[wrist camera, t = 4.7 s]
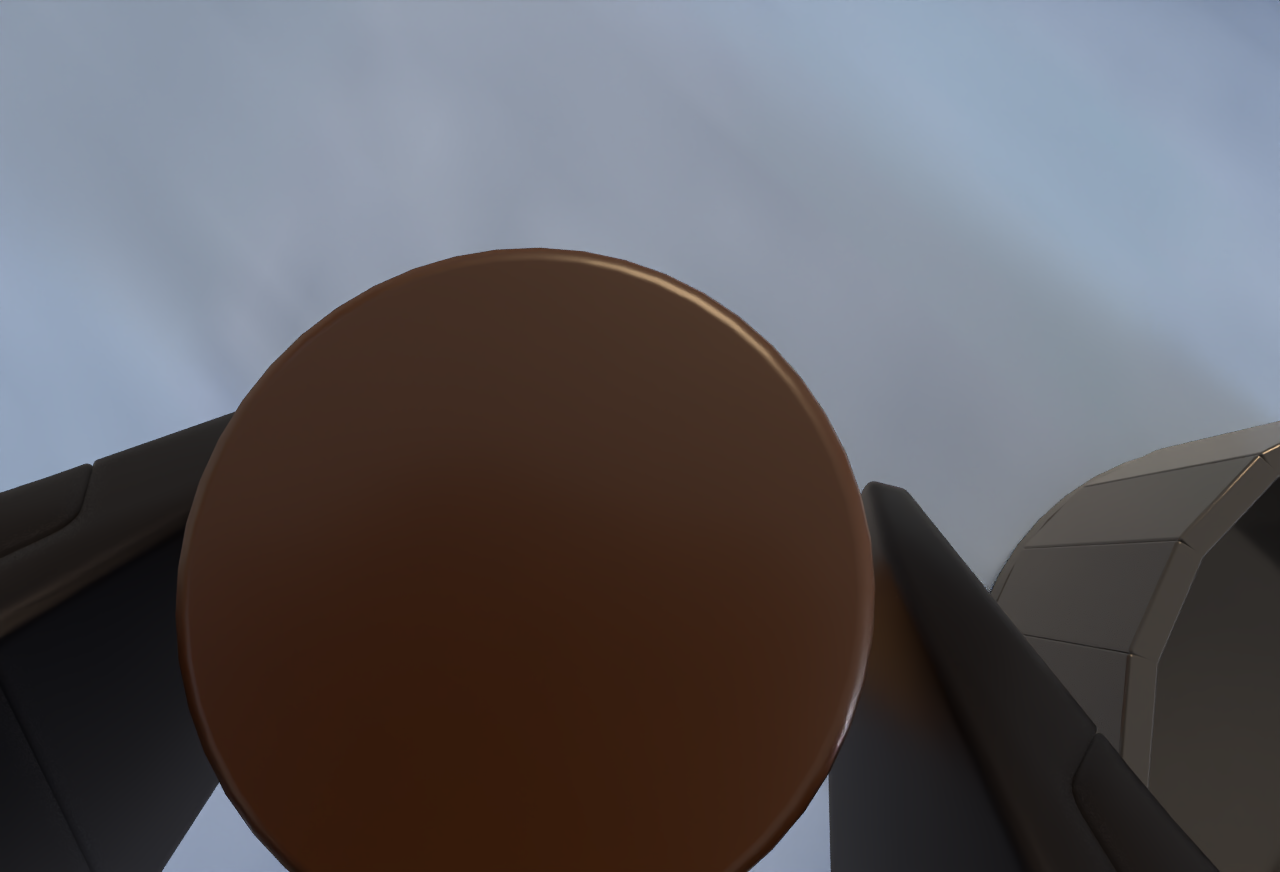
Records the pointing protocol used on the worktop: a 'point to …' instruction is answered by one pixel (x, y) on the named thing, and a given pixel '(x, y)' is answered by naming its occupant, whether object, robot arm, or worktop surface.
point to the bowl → (1172, 629)
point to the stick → (525, 580)
